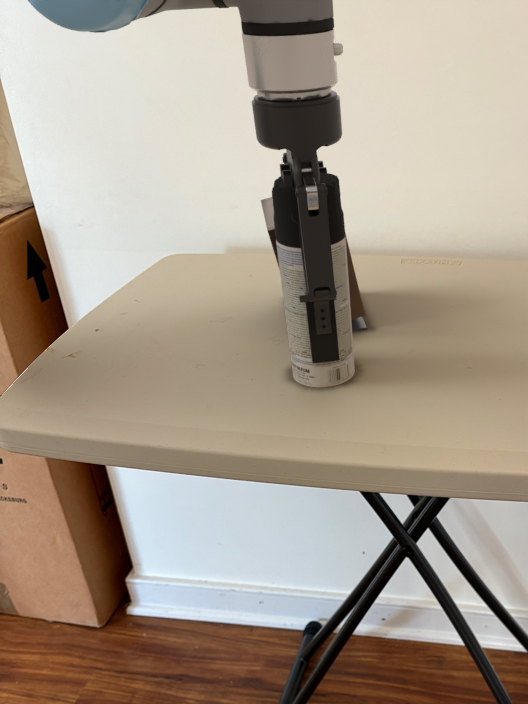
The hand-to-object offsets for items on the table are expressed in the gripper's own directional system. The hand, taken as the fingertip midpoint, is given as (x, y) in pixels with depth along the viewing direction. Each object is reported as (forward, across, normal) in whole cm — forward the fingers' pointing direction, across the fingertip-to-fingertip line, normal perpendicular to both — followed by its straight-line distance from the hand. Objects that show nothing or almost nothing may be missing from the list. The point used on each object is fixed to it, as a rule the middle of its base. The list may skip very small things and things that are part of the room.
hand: (321, 344), depth 79 cm
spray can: (+4, 0, 0) cm, 4 cm away
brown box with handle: (+2, +16, -2) cm, 16 cm away
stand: (+4, +16, -2) cm, 16 cm away
